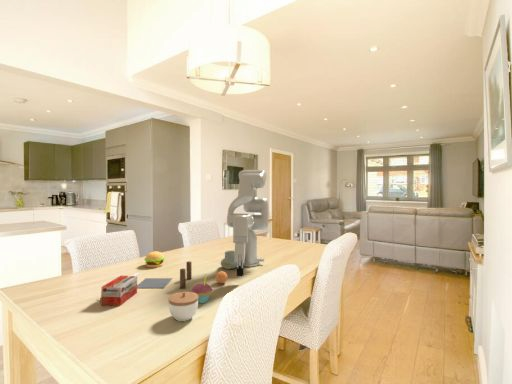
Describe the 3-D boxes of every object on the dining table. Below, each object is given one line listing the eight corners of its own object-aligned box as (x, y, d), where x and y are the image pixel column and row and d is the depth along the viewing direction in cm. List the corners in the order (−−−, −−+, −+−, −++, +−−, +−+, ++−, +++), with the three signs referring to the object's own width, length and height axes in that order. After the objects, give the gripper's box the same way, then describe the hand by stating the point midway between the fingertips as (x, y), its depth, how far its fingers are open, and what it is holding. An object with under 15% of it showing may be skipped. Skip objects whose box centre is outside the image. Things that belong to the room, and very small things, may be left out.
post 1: (186, 286, 132) (186, 268, 132) (184, 288, 130) (184, 270, 130) (180, 286, 132) (180, 268, 132) (179, 288, 130) (179, 270, 130)
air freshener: (240, 267, 166) (240, 251, 166) (234, 271, 159) (234, 253, 159) (225, 265, 171) (225, 249, 171) (218, 268, 164) (218, 252, 163)
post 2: (191, 278, 145) (192, 261, 145) (190, 279, 143) (190, 262, 143) (187, 278, 145) (187, 261, 145) (185, 279, 143) (185, 262, 143)
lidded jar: (172, 311, 106) (172, 287, 106) (200, 310, 107) (200, 287, 106) (165, 325, 95) (165, 298, 95) (196, 324, 96) (196, 297, 96)
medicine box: (120, 306, 110) (120, 287, 110) (100, 306, 111) (100, 286, 110) (137, 292, 125) (137, 275, 125) (120, 292, 126) (120, 275, 126)
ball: (227, 281, 141) (228, 269, 141) (226, 285, 135) (227, 273, 135) (216, 281, 141) (216, 269, 141) (214, 285, 135) (214, 273, 135)
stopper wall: (139, 277, 146) (139, 272, 146) (124, 289, 128) (124, 284, 128) (135, 277, 146) (135, 272, 146) (119, 289, 128) (119, 284, 128)
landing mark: (172, 278, 144) (172, 278, 144) (163, 288, 130) (163, 287, 130) (145, 278, 144) (145, 278, 144) (134, 288, 130) (134, 287, 130)
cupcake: (215, 298, 118) (215, 271, 118) (205, 306, 110) (205, 277, 110) (198, 296, 121) (198, 269, 121) (187, 303, 113) (187, 274, 113)
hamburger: (168, 263, 174) (168, 250, 174) (159, 268, 163) (159, 254, 162) (150, 262, 176) (150, 249, 176) (140, 268, 164) (140, 253, 164)
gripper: (233, 237, 145) (233, 271, 145) (231, 241, 130) (231, 280, 130) (247, 237, 145) (247, 271, 145) (247, 241, 130) (247, 280, 130)
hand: (240, 275), depth 137 cm, fingers closed
